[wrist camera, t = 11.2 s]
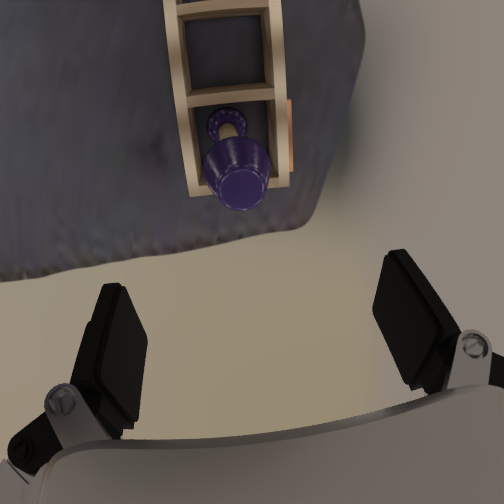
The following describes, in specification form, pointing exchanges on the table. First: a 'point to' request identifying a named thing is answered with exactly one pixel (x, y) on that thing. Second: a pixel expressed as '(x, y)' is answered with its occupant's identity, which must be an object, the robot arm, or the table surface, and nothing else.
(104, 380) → the robot arm
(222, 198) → the toy lamp
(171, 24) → the rack
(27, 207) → the table surface
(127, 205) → the table surface
